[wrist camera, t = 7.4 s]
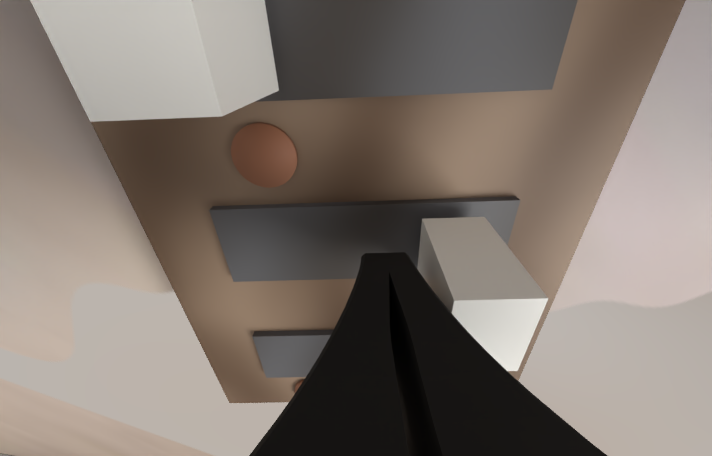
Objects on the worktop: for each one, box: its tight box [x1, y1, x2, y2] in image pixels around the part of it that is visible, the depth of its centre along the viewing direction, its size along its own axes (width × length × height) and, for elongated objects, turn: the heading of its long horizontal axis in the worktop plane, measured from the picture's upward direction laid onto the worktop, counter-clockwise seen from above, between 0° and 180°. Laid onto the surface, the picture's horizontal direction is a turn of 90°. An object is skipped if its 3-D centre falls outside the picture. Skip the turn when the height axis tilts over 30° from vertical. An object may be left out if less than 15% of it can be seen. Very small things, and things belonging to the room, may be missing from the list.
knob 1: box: [30, 0, 279, 122], centre depth 5 cm, size 2×3×4 cm
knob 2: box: [417, 217, 548, 371], centre depth 8 cm, size 2×3×4 cm
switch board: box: [91, 0, 685, 403], centre depth 11 cm, size 16×22×2 cm
